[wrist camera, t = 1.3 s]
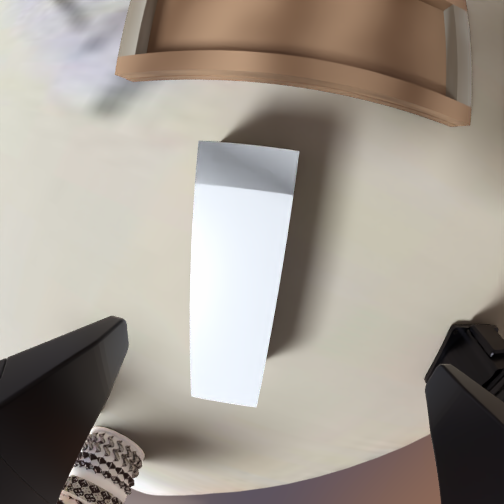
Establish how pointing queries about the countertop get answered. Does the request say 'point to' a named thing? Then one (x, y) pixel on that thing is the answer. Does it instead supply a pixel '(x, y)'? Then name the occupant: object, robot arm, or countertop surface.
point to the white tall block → (236, 264)
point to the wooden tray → (311, 48)
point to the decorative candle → (103, 469)
